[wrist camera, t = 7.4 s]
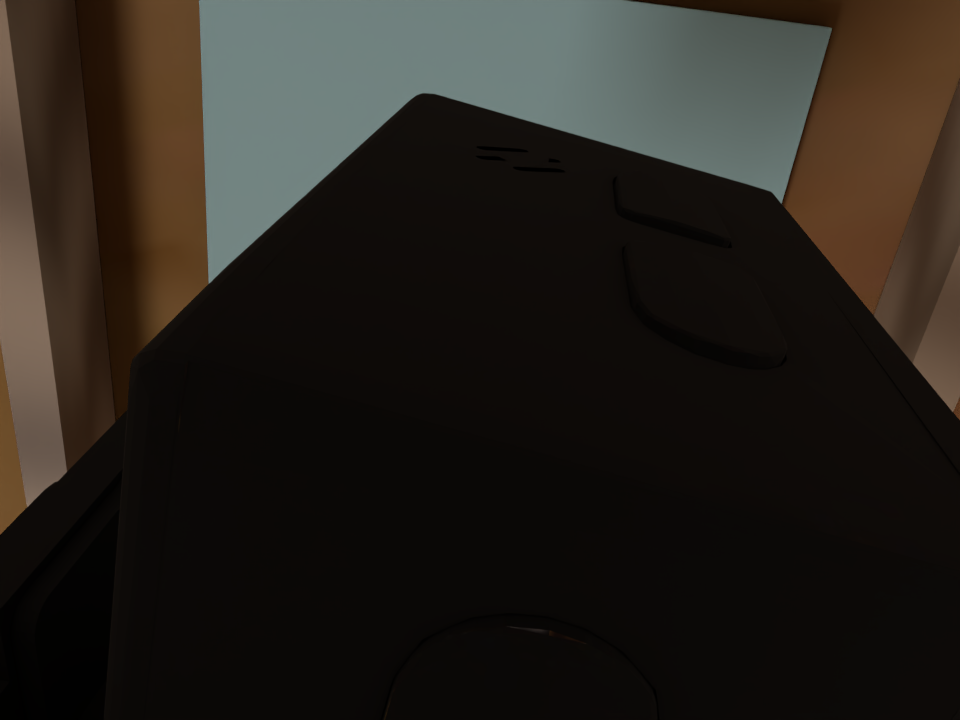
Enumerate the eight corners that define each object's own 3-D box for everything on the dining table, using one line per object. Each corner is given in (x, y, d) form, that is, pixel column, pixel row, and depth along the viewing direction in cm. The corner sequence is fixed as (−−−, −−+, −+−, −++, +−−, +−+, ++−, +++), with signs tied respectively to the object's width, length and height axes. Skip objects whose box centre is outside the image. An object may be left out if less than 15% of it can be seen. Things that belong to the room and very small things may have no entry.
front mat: (203, -57, 17) (197, -57, 17) (828, 26, 17) (832, 28, 17) (217, 398, 22) (212, 403, 22) (700, 471, 22) (702, 478, 22)
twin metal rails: (5, -137, 17) (-79, -149, 15) (1053, 0, 16) (1128, 10, 14) (106, 689, 28) (67, 753, 26) (739, 793, 27) (754, 868, 25)
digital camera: (315, 46, 9) (-188, 237, 3) (774, 179, 10) (1144, 612, 3) (214, 676, 14) (-70, 1253, 8) (523, 760, 14) (483, 1393, 8)
